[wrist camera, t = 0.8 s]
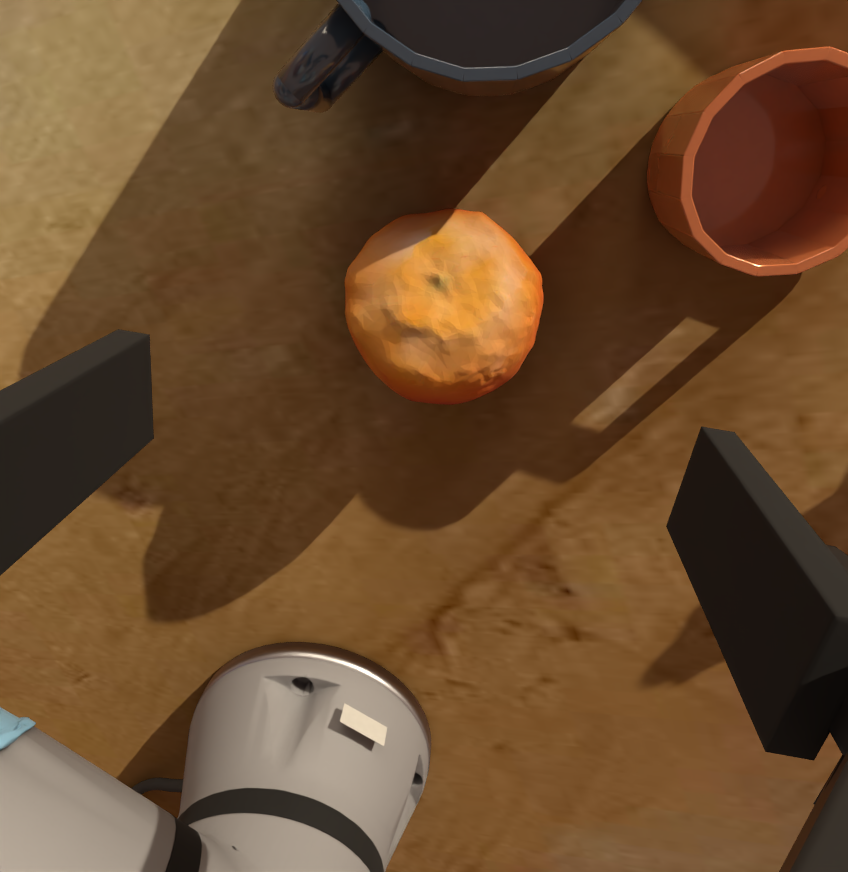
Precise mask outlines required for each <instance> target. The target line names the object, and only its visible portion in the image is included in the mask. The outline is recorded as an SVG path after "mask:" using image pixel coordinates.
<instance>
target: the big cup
mask: <svg viewBox="0 0 848 872" xmlns="http://www.w3.org/2000/svg"><path fill="white" fill-rule="evenodd" d="M336 1H337V2H338V4H337V5H336V6H335V8H334V9H333V10H332V11H331V12H330V13H329V14H328V16H327V17H326V18H325V19H324V20H323V21H322V22H321V24H320V25H319V26H318V27H317V28H316V29H315V31H314V32H313V33H312V34H311V35H310V36H309V37H308V39H307V40H306V41H305V42H304V43H303V44H302V46H301V47H300V48H299V49H298V50H297V51H296V52H295V54H294V55H293V56H292V57H291V58H290V59H289V61H288V62H287V63H286V64H285V65H284V66H283V67H282V69H281V70H280V71H279V72H278V73H277V75H276V76H275V78H274V80H273V92H274V95H275V97H276V99H277V100H278V102H279V103H281V104H282V105H283V106H285V107H288V108H293V109H299V110H305V111H311V112H317V113H323V112H326V111H328V110H329V109H330V108H331V107H332V106H333V105H334V104H335V102H336V101H337V100H338V99H339V98H340V97H341V96H342V95H343V94H344V93H345V92H346V91H347V89H348V88H349V87H350V86H351V85H352V84H353V83H354V82H355V81H356V80H357V79H358V78H359V76H360V75H361V74H362V73H363V72H364V71H365V70H366V69H367V68H368V67H369V66H370V65H371V63H372V62H373V61H374V60H375V59H376V58H377V57H378V56H379V55H380V54H381V53H382V52H383V51H384V52H385V53H386V54H387V55H389V56H390V57H391V58H392V59H393V60H394V61H396V62H397V63H399V64H400V65H402V66H403V67H405V68H406V69H407V70H409V71H410V72H412V73H413V74H415V75H416V76H418V77H419V78H420V79H422V80H423V81H425V82H426V83H429V84H430V85H433V86H437V87H440V88H442V89H445V90H449V91H452V92H456V93H460V94H463V95H466V96H468V95H469V96H499V95H510V94H514V93H517V92H520V91H523V90H526V89H529V88H533V87H536V86H538V85H540V84H543V83H546V82H548V81H551V80H553V79H554V78H556V77H557V76H558V75H560V74H561V73H563V72H564V71H565V70H567V69H568V68H570V67H571V66H572V65H574V64H575V63H576V62H578V61H579V60H581V59H582V58H583V57H585V56H586V55H588V54H589V53H590V52H591V51H592V50H594V49H595V48H596V47H597V46H598V45H599V44H600V43H602V42H603V41H604V40H605V39H606V38H607V37H608V36H610V35H611V34H612V33H613V32H614V31H615V30H617V29H618V28H619V27H620V26H621V25H622V24H623V23H624V22H625V21H626V20H627V18H628V17H629V16H630V15H631V14H632V12H633V11H634V10H635V9H636V8H637V6H638V5H639V4H640V3H641V2H642V0H336Z"/></svg>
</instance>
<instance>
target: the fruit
mask: <svg viewBox="0 0 848 872" xmlns="http://www.w3.org/2000/svg"><path fill="white" fill-rule="evenodd" d="M344 283H345V291H346V293H345V308H346V310H345V316H346V321H347V326H348V329H349V331H350V334H351V336H352V339H353V341H354V343H355V345H356V347H357V349H358V351H359V352H360V354H361V356H362V357H363V359H364V361H365V362H366V363H367V365H368V366H369V367H370V369H371V370H372V371H373V373H374V374H375V375H376V376H377V377H378V378H379V379H380V380H381V381H383V382H384V383H385V384H386V385H387V386H388V387H389V388H390V389H392V390H393V391H394V392H396V393H397V394H399V395H400V396H402V397H404V398H406V399H409V400H411V401H416V402H424V403H432V404H446V405H453V404H460V403H464V402H468V401H471V400H474V399H477V398H479V397H481V396H483V395H485V394H488V393H490V392H492V391H494V390H495V389H497V388H498V387H500V386H501V385H503V384H504V383H506V382H507V381H508V380H510V379H511V378H512V377H513V376H514V375H515V374H516V373H517V372H518V370H519V369H520V367H521V365H522V363H523V361H524V360H525V358H526V356H527V354H528V353H529V351H530V350H531V349H532V347H533V345H534V342H535V337H536V332H537V329H538V325H539V320H540V315H541V311H542V307H543V299H544V296H543V290H542V276H541V273H540V272H539V271H538V269H537V268H536V266H535V265H534V264H533V262H532V261H531V260H530V258H529V257H528V256H527V255H526V253H525V252H524V251H523V249H522V248H521V247H520V246H519V244H518V243H517V242H516V240H515V239H513V238H512V237H511V236H510V235H509V234H508V233H507V232H506V231H505V230H504V229H502V228H501V227H500V226H499V225H498V224H496V223H495V222H494V221H492V220H491V219H490V218H489V217H488V216H487V215H486V214H484V213H482V212H472V211H466V210H460V209H455V208H448V209H443V210H439V211H434V212H430V213H417V214H408V215H404V216H401V217H399V218H397V219H396V220H394V221H392V222H390V223H389V224H387V225H386V226H385V227H383V228H382V229H381V230H379V231H378V232H376V233H375V234H374V235H372V236H371V237H370V238H369V239H368V240H367V242H366V244H365V245H364V247H363V248H362V250H361V251H360V253H359V254H358V255H357V257H356V258H355V259H354V261H353V262H352V263H351V265H350V266H349V267H348V270H347V274H346V278H345V282H344Z"/></svg>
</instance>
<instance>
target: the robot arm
mask: <svg viewBox="0 0 848 872" xmlns="http://www.w3.org/2000/svg"><path fill="white" fill-rule="evenodd" d="M152 439H154V434H153V408H152V382H151V356H150V335H149V334H143V333H137V332H131V331H125V330H119V329H118V330H116V331H114V332H112V333H110V334H108V335H107V336H105V337H103V338H101V339H99V340H97V341H95V342H93V343H91V344H89V345H87V346H85V347H83V348H81V349H80V350H78V351H76V352H74V353H72V354H70V355H68V356H66V357H64V358H62V359H60V360H58V361H56V362H55V363H53V364H51V365H49V366H47V367H45V368H43V369H41V370H39V371H37V372H35V373H33V374H31V375H29V376H28V377H26V378H24V379H22V380H20V381H18V382H16V383H14V384H12V385H10V386H8V387H6V388H4V389H3V390H1V391H0V575H1V574H3V573H4V572H5V571H6V570H7V569H8V568H9V567H10V566H11V565H13V564H14V563H15V562H16V561H17V560H18V559H19V558H20V557H22V556H23V555H24V554H25V553H26V552H27V551H28V550H29V549H31V548H32V547H33V546H34V545H35V544H36V543H37V542H38V541H39V540H41V539H42V538H43V537H44V536H45V535H46V534H47V533H48V532H50V531H51V530H52V529H53V528H54V527H55V526H56V525H57V524H58V523H60V522H61V521H62V520H63V519H64V518H65V517H66V516H67V515H69V514H70V513H71V512H72V511H73V510H74V509H75V508H76V507H77V506H79V505H80V504H81V503H82V502H83V501H84V500H85V499H86V498H88V497H89V496H90V495H91V494H92V493H93V492H94V491H95V490H97V489H98V488H99V487H100V486H101V485H102V484H103V483H104V482H105V481H107V480H108V479H109V478H110V477H111V476H112V475H113V474H114V473H116V472H117V471H118V470H119V469H120V468H121V467H122V466H123V465H124V464H126V463H127V462H128V461H129V460H130V459H131V458H132V457H133V456H135V455H136V454H137V453H138V452H139V451H140V450H141V449H142V448H144V447H145V446H146V445H147V444H148V443H149V442H150V441H151V440H152ZM666 527H667V529H668V531H669V534H670V536H671V538H672V540H673V543H674V545H675V547H676V549H677V552H678V554H679V556H680V559H681V561H682V563H683V565H684V568H685V570H686V572H687V574H688V577H689V579H690V581H691V584H692V586H693V588H694V590H695V593H696V595H697V597H698V599H699V602H700V604H701V606H702V609H703V611H704V613H705V615H706V618H707V620H708V622H709V624H710V627H711V629H712V631H713V634H714V636H715V638H716V640H717V643H718V645H719V647H720V649H721V652H722V654H723V656H724V659H725V661H726V663H727V665H728V668H729V670H730V672H731V674H732V677H733V679H734V681H735V684H736V686H737V688H738V690H739V693H740V695H741V697H742V699H743V702H744V704H745V706H746V709H747V711H748V713H749V715H750V718H751V720H752V722H753V724H754V727H755V729H756V731H757V734H758V736H759V738H760V740H761V743H762V745H763V747H764V749H765V752H770V753H776V754H781V755H787V756H792V757H798V758H804V759H809V760H814V759H815V758H816V756H817V754H818V752H819V751H820V749H821V747H822V745H823V744H824V742H825V740H826V738H827V736H828V735H829V733H831V735H832V737H833V738H834V740H835V742H836V744H837V745H838V747H839V749H840V751H841V753H842V754H843V755H842V756H841V758H840V760H839V762H838V763H837V765H836V767H835V768H834V770H833V772H832V773H831V775H830V777H829V778H828V780H827V782H826V784H825V785H824V787H823V789H822V790H821V792H820V794H819V795H818V797H817V799H816V800H815V802H814V807H813V809H812V811H811V813H810V815H809V817H808V819H807V820H806V822H805V824H804V826H803V828H802V830H801V832H800V834H799V835H798V837H797V839H796V841H795V843H794V845H793V847H792V849H791V850H790V852H789V854H788V856H787V858H786V860H785V862H784V863H783V865H782V867H781V869H780V871H779V872H848V555H846V554H845V553H844V552H842V551H841V550H839V549H838V548H837V547H835V546H829V545H825V544H824V542H823V541H822V540H821V539H820V538H819V536H818V535H817V534H816V533H815V531H814V530H813V529H812V528H811V526H810V525H809V524H808V523H807V521H806V520H805V519H804V518H803V516H802V515H801V514H800V513H799V512H798V510H797V509H796V508H795V507H794V505H793V504H792V503H791V502H790V500H789V499H788V498H787V497H786V495H785V494H784V493H783V492H782V490H781V489H780V488H779V487H778V486H777V484H776V483H775V482H774V481H773V479H772V478H771V477H770V476H769V474H768V473H767V472H766V471H765V469H764V468H763V467H762V466H761V464H760V463H759V462H758V461H757V459H756V458H755V457H754V456H753V455H752V453H751V452H750V451H749V450H748V448H747V447H746V446H745V445H744V443H743V442H742V441H741V440H740V438H739V437H738V436H737V435H736V433H735V432H730V431H724V430H718V429H712V428H706V427H701V429H700V432H699V435H698V438H697V441H696V443H695V446H694V449H693V452H692V455H691V458H690V460H689V463H688V466H687V469H686V472H685V475H684V477H683V480H682V483H681V486H680V489H679V492H678V495H677V497H676V500H675V503H674V506H673V509H672V512H671V514H670V517H669V520H668V523H667V526H666ZM35 724H36V723H35V722H34V721H32V720H31V719H29V717H22V718H18V717H16V716H15V715H13V714H11V713H9V712H8V711H6V710H4V709H2V708H0V872H385V871H386V868H387V866H388V863H389V861H390V859H391V857H392V855H393V853H394V851H395V849H396V847H397V845H398V843H399V840H400V838H401V836H402V834H403V832H404V830H405V828H406V826H407V824H408V822H409V820H410V818H411V816H412V814H413V812H414V809H415V807H416V805H417V803H418V801H419V799H420V797H421V794H422V792H423V789H424V786H425V782H426V778H427V775H428V770H429V763H430V753H431V734H430V728H429V725H428V721H427V718H426V716H425V713H424V711H423V710H422V708H421V706H420V704H419V703H418V701H417V700H416V698H415V697H414V695H413V694H412V693H411V692H410V691H409V689H408V688H407V687H406V686H405V685H404V684H403V683H402V682H401V681H400V680H399V679H397V678H396V677H395V676H394V675H393V674H391V673H390V672H389V671H387V670H386V669H384V668H383V667H381V666H380V665H378V664H376V663H374V662H373V661H371V660H369V659H367V658H365V657H362V656H360V655H358V654H355V653H353V652H350V651H347V650H344V649H341V648H337V647H333V646H328V645H323V644H316V643H306V642H286V643H276V644H271V645H265V646H262V647H258V648H255V649H252V650H249V651H247V652H244V653H242V654H240V655H238V656H236V657H235V658H233V659H232V660H230V661H229V662H227V663H226V664H225V665H224V666H222V667H221V668H220V669H219V670H218V671H217V672H216V673H215V674H214V676H213V677H212V678H211V680H210V681H209V683H208V685H207V686H206V688H205V690H204V692H203V694H202V696H201V698H200V700H199V702H198V704H197V706H196V709H195V712H194V715H193V718H192V722H191V725H190V729H189V736H188V747H187V754H186V761H185V770H184V778H183V779H169V778H152V779H148V780H145V781H142V782H140V783H138V784H136V785H135V786H134V787H132V788H130V787H128V786H127V785H125V784H123V783H122V782H120V781H119V780H117V779H116V778H114V777H112V776H111V775H109V774H108V773H106V772H105V771H103V770H102V769H100V768H98V767H97V766H95V765H94V764H92V763H91V762H89V761H87V760H86V759H84V758H83V757H81V756H80V755H78V754H77V753H75V752H73V751H72V750H70V749H69V748H67V747H66V746H64V745H62V744H61V743H59V742H58V741H56V740H55V739H53V738H52V737H50V736H48V735H47V734H45V733H44V732H42V731H41V730H39V729H37V728H36V727H34V725H35ZM150 790H162V791H170V792H182V795H181V804H180V812H179V816H178V818H175V817H174V816H173V815H171V814H170V813H169V812H167V811H166V810H164V809H162V808H161V807H159V806H158V805H156V804H155V803H153V802H152V801H150V800H148V799H147V798H145V797H144V796H142V795H141V794H143V793H145V792H147V791H150Z"/></svg>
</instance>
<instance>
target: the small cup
mask: <svg viewBox="0 0 848 872" xmlns="http://www.w3.org/2000/svg"><path fill="white" fill-rule="evenodd" d="M647 185H648V192H649V197H650V200H651V204H652V207H653V209H654V211H655V213H656V216H657V217H658V219H659V220H660V222H661V223H662V225H663V226H664V227H665V228H666V229H667V231H668V232H669V233H670V234H672V235H673V236H674V237H675V238H676V239H678V240H679V241H680V242H681V243H682V244H683V245H685V246H686V247H688V248H690V249H692V250H694V251H696V252H698V253H700V254H702V255H704V256H705V257H707V258H709V259H711V260H713V261H715V262H717V263H719V264H721V265H723V266H726V267H729V268H732V269H735V270H738V271H740V272H743V273H746V274H749V275H752V276H756V277H761V276H777V275H794V274H799V273H801V272H803V271H806V270H808V269H810V268H813V267H815V266H817V265H819V264H822V263H824V262H826V261H829V260H831V259H833V258H836V257H838V256H839V255H840V254H842V253H843V252H844V251H845V250H846V249H847V248H848V53H847V52H844V51H841V50H839V49H836V48H833V47H829V46H827V47H817V48H806V49H796V50H786V51H782V52H778V53H775V54H772V55H768V56H765V57H762V58H759V59H755V60H752V61H749V62H746V63H742V64H739V65H736V66H733V67H730V68H728V69H726V70H724V71H722V72H720V73H718V74H715V75H713V76H711V77H709V78H707V79H706V80H704V81H702V82H701V83H699V84H697V85H696V86H694V87H693V88H692V89H691V90H690V91H688V92H687V93H686V94H685V95H684V96H683V97H682V98H681V99H680V100H679V101H678V102H677V103H676V104H675V105H674V107H673V108H672V109H671V110H670V112H669V113H668V114H667V116H666V117H665V119H664V121H663V122H662V124H661V126H660V128H659V130H658V132H657V134H656V136H655V139H654V141H653V144H652V147H651V151H650V155H649V159H648V168H647Z"/></svg>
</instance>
